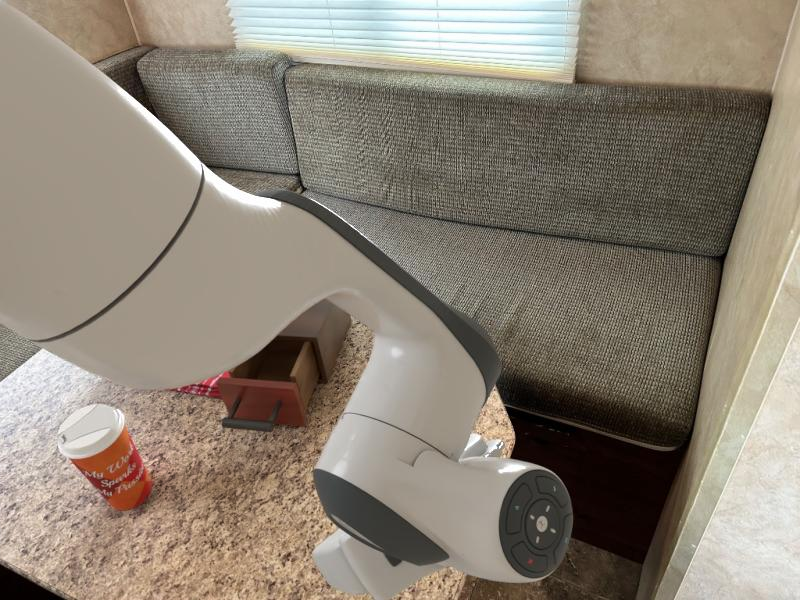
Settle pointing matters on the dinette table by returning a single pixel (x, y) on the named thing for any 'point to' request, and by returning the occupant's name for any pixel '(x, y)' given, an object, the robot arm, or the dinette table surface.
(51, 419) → the dinette table surface
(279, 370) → the drawer
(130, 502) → the paper cup
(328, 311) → the cabinet
